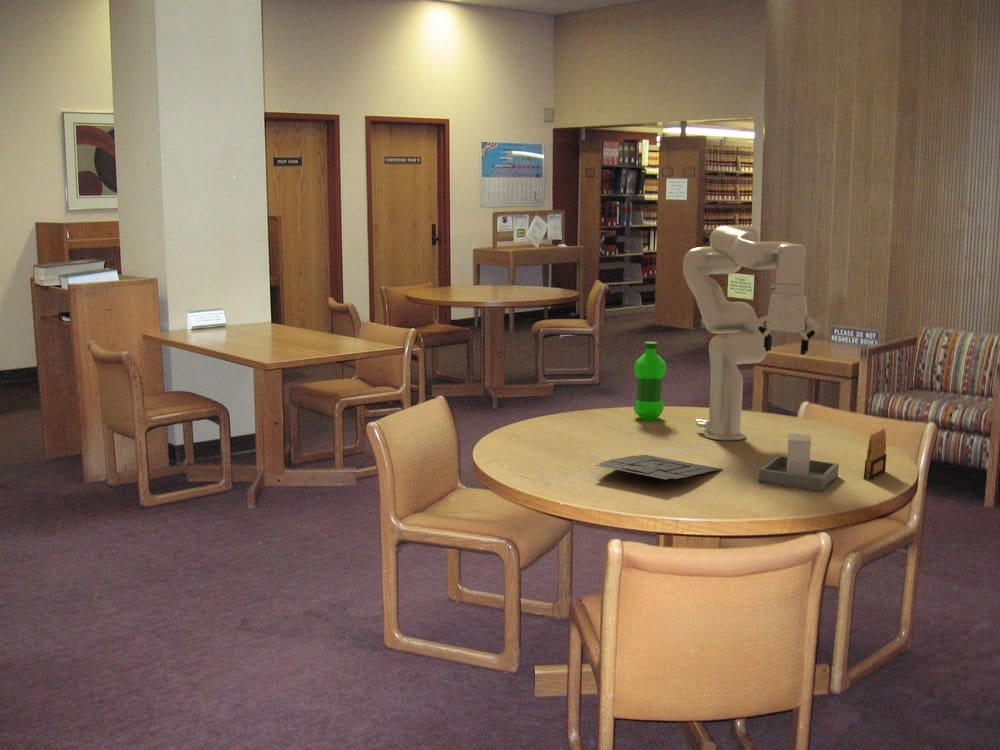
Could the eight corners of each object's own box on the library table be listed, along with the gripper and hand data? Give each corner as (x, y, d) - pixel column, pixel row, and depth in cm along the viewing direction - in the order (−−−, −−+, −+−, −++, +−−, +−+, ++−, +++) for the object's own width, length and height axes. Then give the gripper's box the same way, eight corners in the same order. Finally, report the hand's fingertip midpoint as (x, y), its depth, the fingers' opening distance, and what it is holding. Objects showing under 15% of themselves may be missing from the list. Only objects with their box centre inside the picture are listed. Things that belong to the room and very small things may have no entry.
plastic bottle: (665, 415, 342) (667, 340, 338) (662, 422, 332) (665, 345, 328) (634, 414, 345) (637, 339, 340) (631, 420, 335) (633, 344, 330)
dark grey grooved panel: (587, 474, 269) (588, 460, 268) (643, 464, 293) (644, 451, 293) (671, 491, 254) (672, 477, 254) (723, 479, 279) (724, 465, 278)
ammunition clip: (878, 470, 279) (881, 427, 277) (885, 472, 278) (888, 428, 276) (863, 479, 271) (866, 434, 269) (870, 480, 270) (874, 435, 268)
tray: (758, 482, 267) (759, 469, 266) (777, 467, 281) (778, 455, 280) (821, 492, 259) (822, 479, 258) (837, 476, 273) (838, 463, 272)
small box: (808, 481, 265) (811, 441, 263) (785, 479, 267) (788, 439, 265) (808, 473, 273) (811, 434, 271) (786, 471, 274) (788, 432, 273)
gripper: (753, 289, 282) (750, 351, 285) (818, 293, 273) (814, 357, 276) (761, 286, 288) (758, 347, 291) (825, 290, 279) (821, 353, 282)
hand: (785, 352), depth 284 cm, fingers open, 9 cm apart
